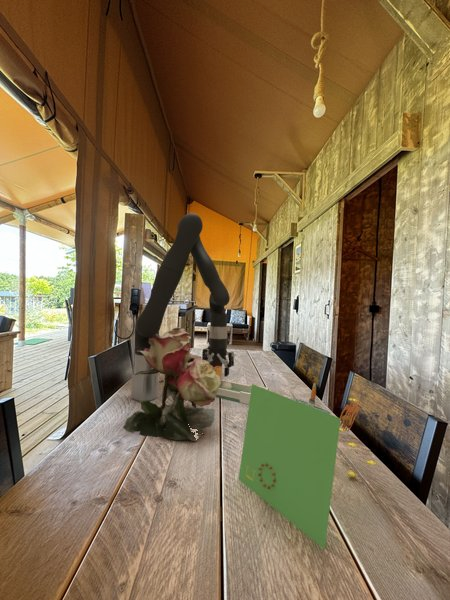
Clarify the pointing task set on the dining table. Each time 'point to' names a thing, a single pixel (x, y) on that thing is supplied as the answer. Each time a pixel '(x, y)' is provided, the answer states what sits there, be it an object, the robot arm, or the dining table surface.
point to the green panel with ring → (293, 457)
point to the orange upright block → (218, 372)
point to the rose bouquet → (176, 389)
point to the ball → (226, 386)
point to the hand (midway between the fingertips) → (217, 374)
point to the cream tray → (236, 392)
